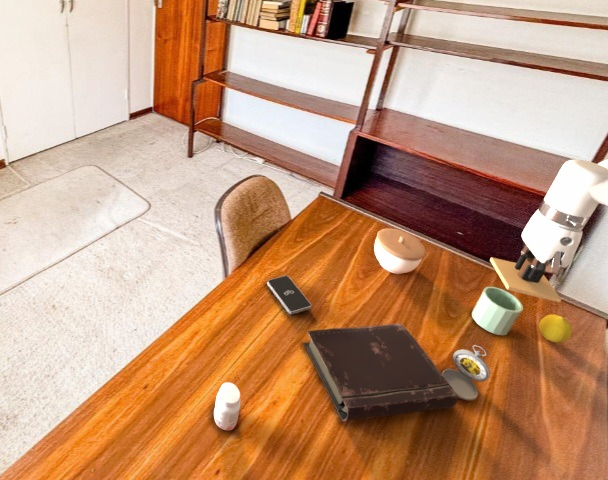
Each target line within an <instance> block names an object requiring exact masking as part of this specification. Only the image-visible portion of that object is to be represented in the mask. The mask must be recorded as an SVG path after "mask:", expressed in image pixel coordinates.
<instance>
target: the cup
mask: <svg viewBox="0 0 608 480" xmlns="http://www.w3.org/2000/svg"><path fill="white" fill-rule="evenodd" d="M523 310H524V305H523V304H522V302H521V301H520V300H519V298H517V297H516V296H515V295H513V293H511V292H509V291H508V290H505V289H502V288H500V287H497V286H486V287H485V288H484V289H483V290H482V293H481V294H480V295H479V298H478V300H477V301H476V303H475V305H474V306H473V309H472V312H471V317H472V319H473V321H474V322H475V323H476V324H477V325H478V326H480V327H481V328H482V329H483V330H485V331H487V332H489V333H491V334H493V335H497V336H506V335H508V333H509V332H510V331H511V330H512V328H513V326H514V325H515V323H516V321H518V319H519V317H520V315H521V314H522V312H523Z"/></svg>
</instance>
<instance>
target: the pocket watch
mask: <svg viewBox="0 0 608 480" xmlns="http://www.w3.org/2000/svg"><path fill="white" fill-rule="evenodd" d="M475 347H477V348H480V349H481V350H482V351H483V352H484V354H482V353H481V350H476V349H475ZM472 350H473V351H474V352H473V351H471V350H468V349H458V350H456V351H455V352H454V353H453V354H452V362H453V364H454V366H455V367H456V368H457V370H456V369H453V368H445V369H444V370H442V372H441V374H442V375H443V377H444V378H445V379H446V380H447V382H448V383H449V384H450V386H451V387H452V388H453V389H454V391H455V392H456V393H457V394H458V399H462V400H465V401H474V400H476V399H477V398H478V396H479V391H478V388H477V386H476V384H475V382H481V383H482V382H486V381H487V380H489V378H490V375H491V372H490V371H491V370H490V367H489V365H488V363H487V362H486V361H485V360H484V359H483V358H482V357H486V356H488V353H487V351H486V350H485V349H484V348H483V347H481V345H480V346H479V345H477V344H473V345H472ZM481 356H482V357H481ZM472 380H473V381H472ZM474 381H475V382H474Z"/></svg>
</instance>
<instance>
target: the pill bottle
mask: <svg viewBox="0 0 608 480" xmlns="http://www.w3.org/2000/svg"><path fill="white" fill-rule="evenodd" d="M241 402H242V401H241V391H240V390H239V388H238V386H236V385H235V383H232V382H224V383H222V384H221V386H220V388H219V390H218V392H217V395H216V398H215V405H214V410H213V419H214V423H215V424H216V425H217V426H218V427H219V428H220V429H221V430H224V431H232V430H233V429H234V428H235V427H236V426H237V423H238V420H239V415H240V410H241V405H242V404H241Z"/></svg>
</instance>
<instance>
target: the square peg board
mask: <svg viewBox="0 0 608 480" xmlns="http://www.w3.org/2000/svg"><path fill="white" fill-rule="evenodd" d="M533 260H534V259H533V258H527V259H526V260H525V262H524V264H523V265H522V267H521V269H520V270H517V269H515V265H516V263H517V262H514V261H510V260H505V259H501V258H496V257H490V259H489V262H490V263H491V265H492V266H493V268H494V270H495V272H496V273H497V275H498V276H499V278H500V280H501V282H502V283H503V285H504V287H505V289H506V291H511V292H515V293H519V294H523V295H526V296H527V295H528V296H531V297H535V298H540V299H543V300H548V301H551V302H556V303H561V301H562V298H561V296H560V295H559V293H558V292H557V291H556V290H555V288H554V287H553V286H552V284H551V283H550V281H549V280H548V279H547V277H546V276H545V274H544V275H543V276H542V278H541V279H540V281H539V282H538V283H535V282H531V281H526V280H523V279H522V278H521V276H522V275H523V273H524V271H525V269H526V268H527V266H528V265H530V266H531V264H532V262H533ZM539 264H542V263H541V262H540V263H539Z"/></svg>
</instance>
